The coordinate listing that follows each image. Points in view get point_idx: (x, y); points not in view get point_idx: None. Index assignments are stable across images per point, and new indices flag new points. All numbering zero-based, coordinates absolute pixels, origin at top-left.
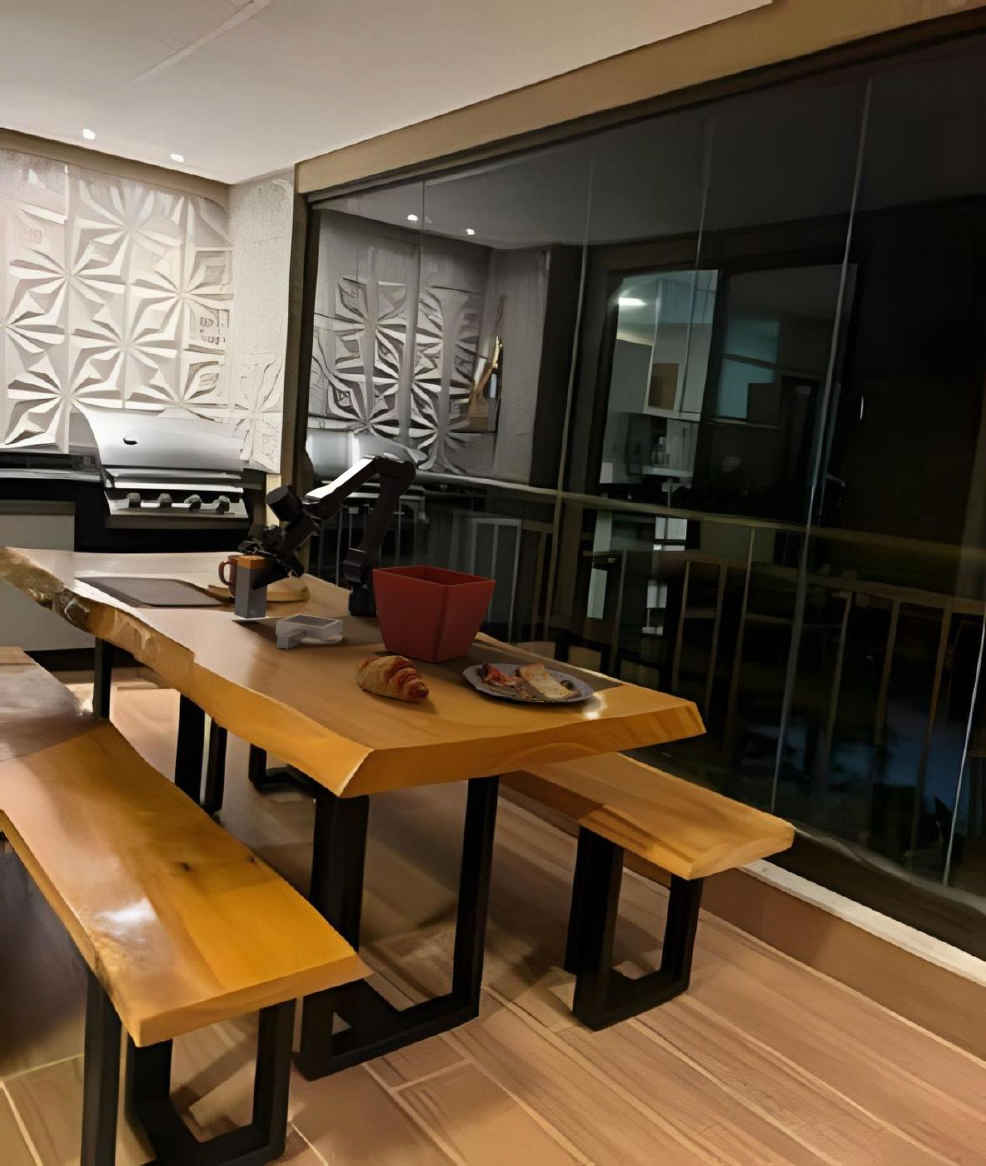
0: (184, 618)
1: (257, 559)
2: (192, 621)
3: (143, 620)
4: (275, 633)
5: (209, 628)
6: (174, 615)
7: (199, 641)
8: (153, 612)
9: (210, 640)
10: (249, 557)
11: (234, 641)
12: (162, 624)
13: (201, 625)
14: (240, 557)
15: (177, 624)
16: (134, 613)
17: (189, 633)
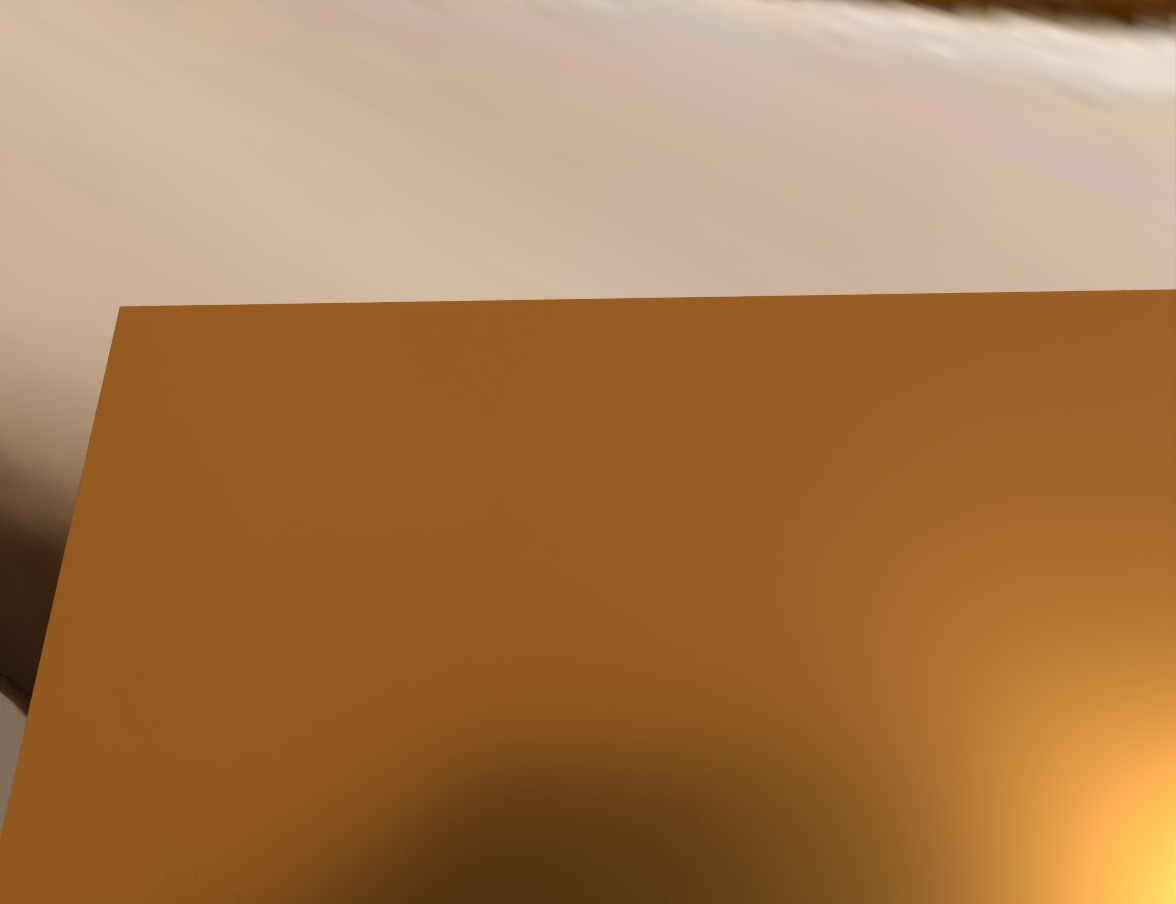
0: (904, 282)
1: (16, 833)
2: (778, 286)
3: (877, 10)
4: (20, 695)
5: (498, 283)
6: (1034, 264)
7: (173, 46)
8: (1164, 173)
9: (160, 114)
10: (876, 697)
11: (44, 237)
12: (725, 60)
13: (618, 279)
14: (1134, 307)
15: (699, 143)
16: (1127, 48)
17: (404, 90)
